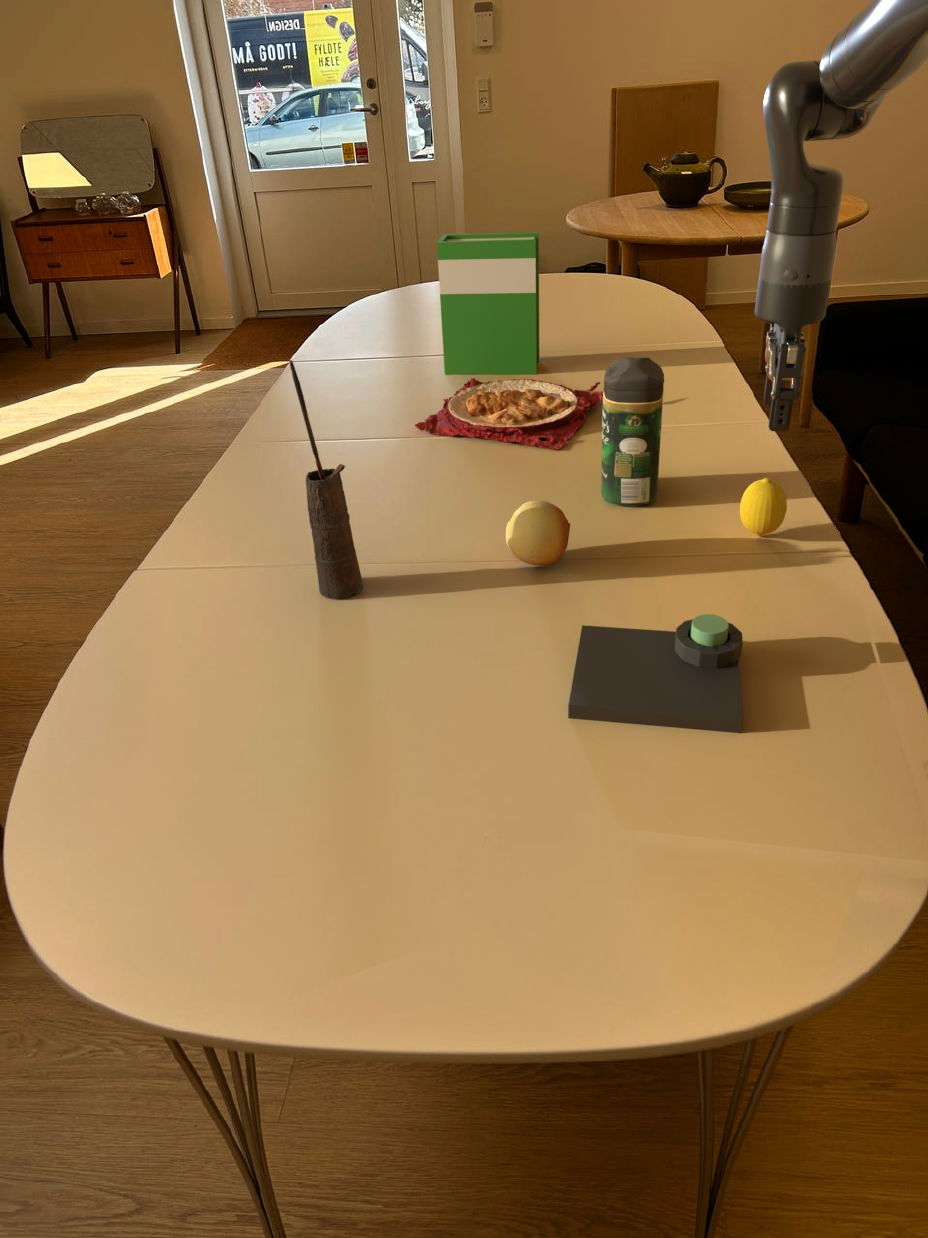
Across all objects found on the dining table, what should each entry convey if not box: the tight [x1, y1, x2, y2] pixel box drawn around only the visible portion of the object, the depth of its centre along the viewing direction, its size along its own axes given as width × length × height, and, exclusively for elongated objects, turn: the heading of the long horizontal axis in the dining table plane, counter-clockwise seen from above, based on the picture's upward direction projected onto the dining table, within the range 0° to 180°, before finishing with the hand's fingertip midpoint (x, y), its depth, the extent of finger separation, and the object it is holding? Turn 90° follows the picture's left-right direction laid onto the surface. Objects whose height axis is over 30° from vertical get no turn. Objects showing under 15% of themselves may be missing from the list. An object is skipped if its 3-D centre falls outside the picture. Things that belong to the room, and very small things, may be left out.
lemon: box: [739, 477, 788, 538], centre depth 116 cm, size 6×6×8 cm
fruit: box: [505, 500, 571, 566], centre depth 113 cm, size 8×8×8 cm
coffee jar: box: [600, 356, 665, 508], centre depth 126 cm, size 10×8×19 cm
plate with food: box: [414, 377, 603, 451], centre depth 158 cm, size 24×26×4 cm
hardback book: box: [436, 231, 540, 375], centre depth 175 cm, size 18×7×24 cm, turn 82°
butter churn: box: [288, 359, 364, 600], centre depth 105 cm, size 9×10×28 cm
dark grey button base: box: [567, 618, 744, 734], centre depth 93 cm, size 16×14×4 cm
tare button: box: [691, 613, 729, 647], centre depth 94 cm, size 4×4×2 cm
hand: (775, 416), depth 110 cm, fingers open, 8 cm apart
